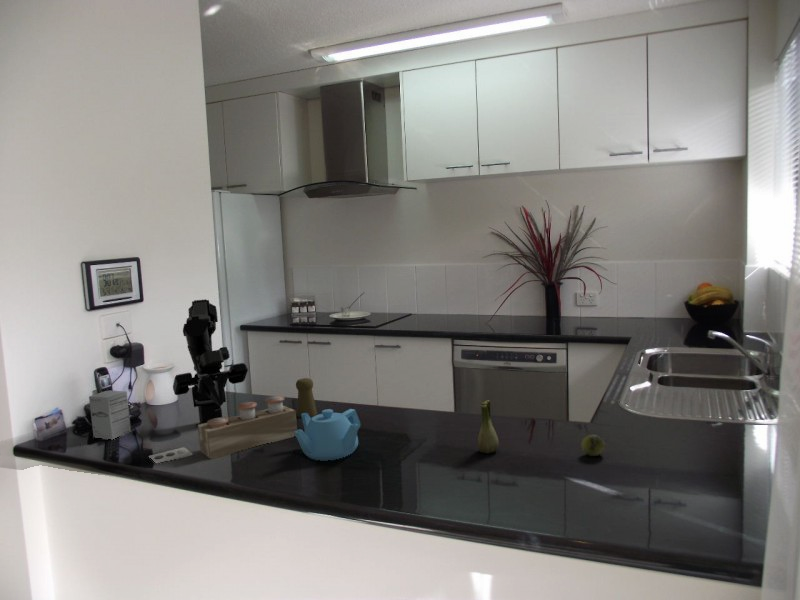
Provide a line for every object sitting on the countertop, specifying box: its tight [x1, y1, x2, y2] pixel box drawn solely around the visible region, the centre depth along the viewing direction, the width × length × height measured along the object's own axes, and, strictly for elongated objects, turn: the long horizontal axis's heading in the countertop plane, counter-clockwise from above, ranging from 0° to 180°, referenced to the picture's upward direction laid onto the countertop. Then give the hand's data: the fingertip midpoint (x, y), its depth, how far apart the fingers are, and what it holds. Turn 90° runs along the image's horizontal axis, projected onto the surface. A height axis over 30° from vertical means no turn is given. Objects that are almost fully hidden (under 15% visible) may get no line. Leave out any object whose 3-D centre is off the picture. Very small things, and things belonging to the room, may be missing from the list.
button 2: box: [264, 395, 285, 415], centre depth 169 cm, size 5×5×5 cm
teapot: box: [294, 408, 362, 462], centre depth 153 cm, size 15×15×11 cm
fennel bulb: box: [477, 400, 500, 454], centre depth 147 cm, size 6×5×12 cm
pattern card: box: [148, 446, 193, 464], centre depth 159 cm, size 7×9×1 cm
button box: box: [197, 404, 298, 460], centre depth 165 cm, size 8×24×7 cm, turn 126°
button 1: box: [207, 416, 229, 429], centre depth 160 cm, size 5×5×5 cm
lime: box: [580, 434, 606, 457], centre depth 140 cm, size 4×5×5 cm
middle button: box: [236, 401, 258, 421], centre depth 164 cm, size 5×5×5 cm
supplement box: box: [88, 390, 132, 441], centre depth 180 cm, size 7×7×13 cm
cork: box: [295, 377, 318, 418], centre depth 189 cm, size 6×6×11 cm
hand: (220, 404), depth 160 cm, fingers closed
